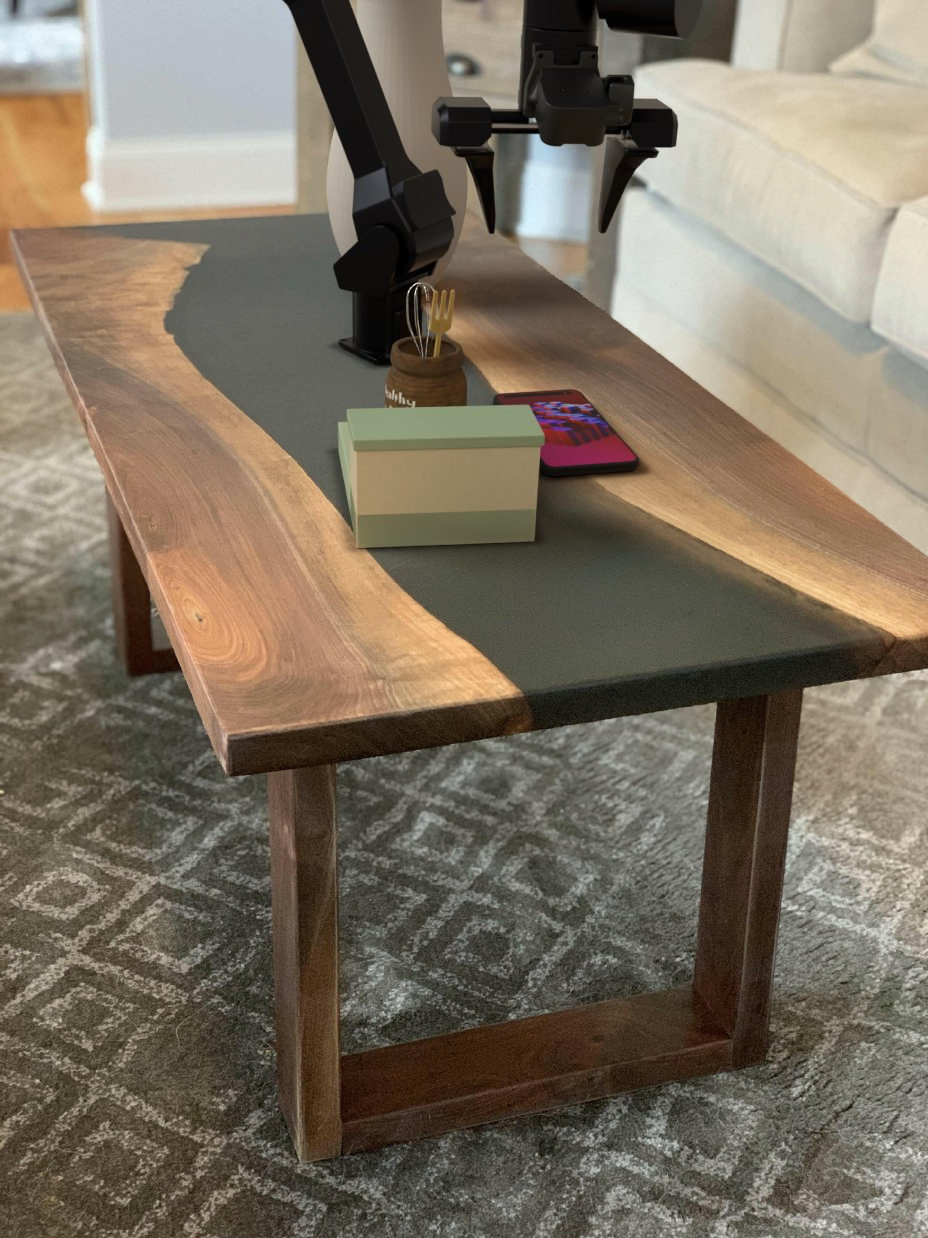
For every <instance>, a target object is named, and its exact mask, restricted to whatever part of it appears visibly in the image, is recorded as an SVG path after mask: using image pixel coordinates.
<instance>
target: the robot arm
mask: <svg viewBox="0 0 928 1238" xmlns="http://www.w3.org/2000/svg"><path fill="white" fill-rule="evenodd" d="M281 1H282V2H283V3H284V4H285V5H286V6H287V8H288V10H289V12H290V14H291V16H292V19H293V21H294V24H295V27H296V29H297V32H298V35H299V37H300V40H301V42H302V45H303V47H304V50H305V53H306V56H307V58H308V61H309V64H310V66H311V69H312V71H313V74H314V76H315V79H316V82H317V84H318V87H319V89H320V92H321V95H322V97H323V101H324V102H325V105H326V108H327V110H328V113H329V116H330V118H331V121H332V123H333V126H334V128H335V129H336V132H337V134H338V137H339V139H340V142H341V145H342V147H343V150H344V152H345V155H346V158H347V160H348V163H349V166H350V168H351V171H352V174H353V178H354V189H353V205H352V218H353V223H354V227H355V231H356V235H357V240H358V241H357V242H356V243H355V244H354V245H353V246H352V247H351V248H350V249H349V250H348V251H347V252H346V253H345V254H344V255H343V256H341V257H340V258H338V259H337V260H336V261H335V262H334V263H333V265H332V269H333V272H334V276H335V279H336V283H337V287H338V289H339V290H341V291H346V292H352V294H351V295H352V297H351V298H352V302H351V303H352V310H351V311H352V313H351V315H352V316H351V317H352V319H351V320H352V336H349V337H348V336H347V337H343V338H339V339H338V341H337V343H338V346H339V347H341V348H342V349H344V350H346V351H349V352H351V353H353V354H355V355H357V356H358V357H360V358H363V359H364V360H365V361H369V362H370V363H372V364H374V365H383V364H389V363H391V360H390V355H391V350H392V346H393V344H394V343H395V342H396V341H398V340H400V339H403V338H407V337H412V336H413V335H414V336H423V321H424V320H423V318H424V317H423V315H424V308H423V306H422V304H423V303H422V301H423V300H422V297H423V294H422V288H421V287H419V285H418V284H416V283H419V282H418V280H420V279H423V278H425V277H429V276H431V275H433V273H434V271H435V268H436V265H437V262H438V260H439V259H440V258H442V257H443V256H444V255H445V254H446V252H447V251H448V250H449V247H450V244H451V242H452V239H453V238H454V226H453V222H452V219H451V216H453V215H455V214H456V211H455V210H454V208H453V207H452V206H451V205H450V203H449V201H448V199H447V197H446V194H445V190H444V185H443V180H442V177H441V175H440V173H439V171H438V170H437V169H434V170H431V171H428V172H426V173H422V172H421V171H420V170H419V169H418V168H417V167H416V166H415V164H414V163H413V162H412V161H411V160H410V159H409V158H408V156H407V154H406V152H405V149H404V147H403V144H402V141H401V139H400V136H399V133H398V131H397V128H396V125H395V122H394V120H393V117H392V114H391V112H390V109H389V106H388V104H387V101H386V98H385V95H384V93H383V90H382V87H381V85H380V82H379V79H378V77H377V74H376V71H375V68H374V66H373V63H372V60H371V58H370V55H369V52H368V49H367V47H366V44H365V41H364V39H363V36H362V33H361V31H360V28H359V25H358V22H357V16H356V14H355V11H354V9H353V7H352V4H351V1H350V0H281ZM703 2H704V0H523V6H522V7H523V8H522V25H521V34H520V64H519V65H520V66H519V83H518V91H517V104H518V105H517V108H492V107H491V106H490V105H489V104H488V102H486V100H485V99H484V98H483V97H482V96H453V97H439V98H438V99H437V100H436V101H435V103H434V104H433V106H432V117H431V132H432V134H433V135H434V137H435V139H436V140H437V142H438V143H439V145H441V146H447V147H450V148H451V150H452V151H453V153H454V154H455V156H457V157H461V158H465V160H466V164H467V168H468V169H469V172H470V174H471V177H472V181H473V184H474V187H475V191H476V194H477V197H478V201H479V205H480V208H481V211H482V215H483V218H484V223H485V226H486V229H487V232H488V234H489V235H494V234H495V233H496V222H497V221H496V220H497V212H496V211H497V210H496V195H495V180H494V179H495V178H494V165H495V150H494V149H493V148H492V147H491V145H490V144H489V140H490V139H491V137H492V135H538V136H539V139H540V141H541V142H542V143H543V144H544V145H546V146H549V147H562V146H564V145H585V146H586V147H588V148H594V147H599V146H601V145H603V143H604V142H605V150H604V157H603V158H604V159H603V166H602V173H601V174H602V175H601V182H600V183H601V184H600V192H599V200H598V209H597V226H598V227H597V231H598V232H599V233H600V234H606V233H607V231H608V228H609V227H610V224H611V222H612V220H613V217H614V215H615V213H616V210H617V209H618V206H619V203H620V202H621V199H622V196H623V194H624V192H625V190H626V188H627V186H628V184H629V182H630V181H631V179H632V178H633V175H634V174H635V172H636V171H637V169H638V168H639V167H640V166H641V165H642V164H643V163H644V162H645V161H647V160H649V159H656V158H658V156H659V153H660V151H659V148H661V149H663V148H665V149H666V148H667V149H672V148H675V147H677V141H678V132H679V120H678V115H677V113H676V112H675V111H674V110H673V108H672V107H670V106H669V105H667V104H665V103H664V102H663V101H661V100H659V99H658V98H642V97H641V98H639V97H638V98H636V97H635V85H636V84H635V81H634V79H633V76H632V74H607V75H606V76H605V77H604V76H603V77H601V74H600V69H599V45H597V43H598V42H597V41H598V29H599V28H598V27H599V26H598V25H599V20H605V23H606V26H607V28H608V30H610V31H611V32H614V33H621V34H629V35H638V36H648V37H649V36H650V37H658V38H667V39H677V40H688V38H689V37H690V36H692V34H693V32H694V31H695V29H696V27H697V24H698V22H699V19H700V16H701V11H702V7H703ZM530 119H535V121H530ZM606 135H609V136H607V137H606V141H605V136H606ZM610 135H612V136H610ZM613 135H614V136H613ZM414 284H416V285H414ZM413 285H414V286H413ZM412 286H413V287H412ZM417 286H418V290H416V288H417ZM411 287H412V288H411ZM410 288H411V289H410ZM409 290H410V291H409ZM415 291H416V294H417V299H416V294H415ZM408 292H409V294H408ZM407 294H408V310H407V306H406V301H407ZM414 298H415V303H414ZM417 311H418V320H417ZM408 316H409V321H408V322H407V317H408ZM415 316H416V324H415ZM409 323H410V325H409V326H408V324H409ZM418 324H419V329H418ZM416 326H417V330H416ZM409 327H411V329H409ZM410 330H412V332H410ZM419 331H420V335H419ZM417 332H418V335H417ZM411 333H413V334H412V335H411Z"/></svg>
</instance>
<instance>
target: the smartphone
mask: <svg viewBox="0 0 928 1238" xmlns="http://www.w3.org/2000/svg"><path fill="white" fill-rule="evenodd" d="M492 399H493V400H492V403H493V404H492V406H495V405H529V406H530V408H531V410H532V411H533V413H534V415H535V417H536V419H537V421H538V423H539V425H540V427H541V429H542V431H543V433H544V435H545V442H544V446H541V448H540V463H539V470H540V471H541V472H542V473H543V474H544V475H547V476H550V477H562V476H563V477H564V476H575V475H589V474H602V473H615V472H627V471H628V472H629V471H635V470H636V469H638V468H639V465H640V464H639V463H640V458H639V456H638V455H637V454H636V453H635V452H634V450H633V449H632V448H631V447H630V446H629V445H628V443H626V442H625V440H624V439H623V438H622V437H621V435H620V434H619V433H618V432H617V431H616V430H615V429H614V427H612V426H611V424H610V423H609V421H607V419H605V417H604V416H603V415H602V414H601V413H600V412H599V411H598V410H597V408H596V407H595V406H594V405H593V404H592V403H591V401H589V399H588V398H587V397H586V396H585V394H583V393H582V392H581V391H580V390H578V389H573V388H567V389H549V390H533V391H532V390H531V391H519V392H518V391H517V392H503V393H498V394H497V393H496V394H495V395H494V396H493V398H492Z"/></svg>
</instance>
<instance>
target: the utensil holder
mask: <svg viewBox="0 0 928 1238" xmlns="http://www.w3.org/2000/svg"><path fill="white" fill-rule="evenodd" d="M416 284H418V285H419V284H421V283H416ZM416 284H414V285H416ZM422 284H423V282H422ZM424 284H425V286H426V284H427V285H428V286H430V287H431V290H432V292H433V295H432V302H431V307H430V304H426V317H427V318H426V320H427V324H426V327H427V328H426V335H422V336H414V335H413V336H412V337H407V338H403V339H400V340H398V341H396V342H395V343H394V344H393V346H392V350H391V355H390V360H391V362H390V363H391V365H392V366H391V367H390V368H389V369H388V372H387V374H386V377H385V378H386V379H385V387H384V389H385V391H384V408H408V407H452V406H468V381H467V376H466V373H465V371H464V369H463V368H462V367H463V365H464V362H465V356H464V350H463V349H464V348H463V346H462V344H460V343H459V342H457V341H455V340H453V339H450V338H447V337H443V334H445V333H447V332H448V331H450V330H451V329H452V323H453V315H454V305H455V299H456V298H455V297H456V290H455V289H451V290H450V294H449V301H448V307H447V313H446V314H447V315H446V317H445V311H446V303H447V302H446V301H447V293H448V292H447V290H446V289H444V290H442V292H441V297H440V306H439V305H438V304H439V303H438V298H439V291H438V290H435V287H432V286H431V285H430V284H428V283H424ZM424 284H423V286H424ZM414 285H413V286H414ZM413 286H412V287H413ZM425 286H424V288H425ZM412 287H411V288H412ZM411 288H410V289H411ZM426 288H427V286H426ZM416 290H418V286H417V288H416ZM409 291H410V290H409ZM427 291H428V289H427ZM425 292H426V289H425ZM408 294H409V292H408ZM408 294H407V301H406V306H407V310H408ZM415 294H416V291H415ZM425 297H426V298H425V299H426V300H430V293H429V291H428V292H426V293H425ZM416 299H417V294H416ZM414 303H415V298H414ZM430 308H431V309H430ZM417 320H418V311H417ZM408 321H409V316H408V317H407V322H408ZM415 324H416V316H415ZM409 325H410V323H409V324H408V326H409ZM409 329H411V327H409ZM418 329H419V324H418ZM416 330H417V326H416ZM410 332H412V330H410ZM430 332H431V333H433V334H432V335H429V334H430ZM412 334H413V333H411V335H412ZM435 334H436V335H435ZM417 335H418V332H417ZM419 335H420V331H419Z"/></svg>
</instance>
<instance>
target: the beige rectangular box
mask: <svg viewBox="0 0 928 1238" xmlns="http://www.w3.org/2000/svg"><path fill="white" fill-rule="evenodd" d="M337 429H338V430H337V436H338V437H337V438H338V439H337V442H338V443H337V444H338V456H339V463H340V468H341V473H342V478H343V481H344V488H345V494H346V498H347V504H348V509H349V510H348V511H349V515H350V520H351V525H352V530H353V535H354V541H355V546H356V549H364V548H366V549H367V548H369V549H370V548H394V547H395V548H396V547H418V546H419V547H420V546H422V547H423V546H445V545H471V544H472V545H473V544H476V545H477V544H496V543H497V544H499V543H526V542H535V538H536V537H535V536H536V524H537V523H536V521H537V505H538V490H539V476H540V468H539V463H540V448H541V446H544V442H545V435H544V433H543V431H542V429H541V427H540V425H539V423H538V421H537V419H536V417H535V415H534V413H533V411H532V410H531V408H530V406H529V405H495V406H494V405H467V406H452V407H408V408H385V407H372V408H371V407H368V408H347V409H346V421H338V422H337Z"/></svg>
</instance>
